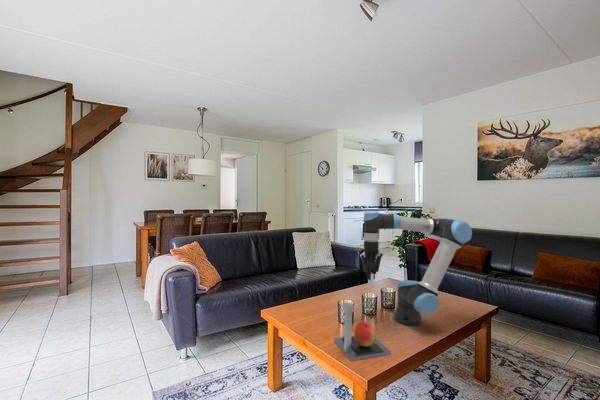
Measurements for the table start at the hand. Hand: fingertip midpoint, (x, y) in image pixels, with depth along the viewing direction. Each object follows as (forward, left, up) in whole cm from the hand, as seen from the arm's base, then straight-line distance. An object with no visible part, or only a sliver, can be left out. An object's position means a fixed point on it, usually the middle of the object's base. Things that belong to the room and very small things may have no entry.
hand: (371, 285), depth 155 cm
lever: (+15, +6, -23) cm, 29 cm away
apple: (+11, +14, -23) cm, 30 cm away
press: (+11, +12, -25) cm, 30 cm away
